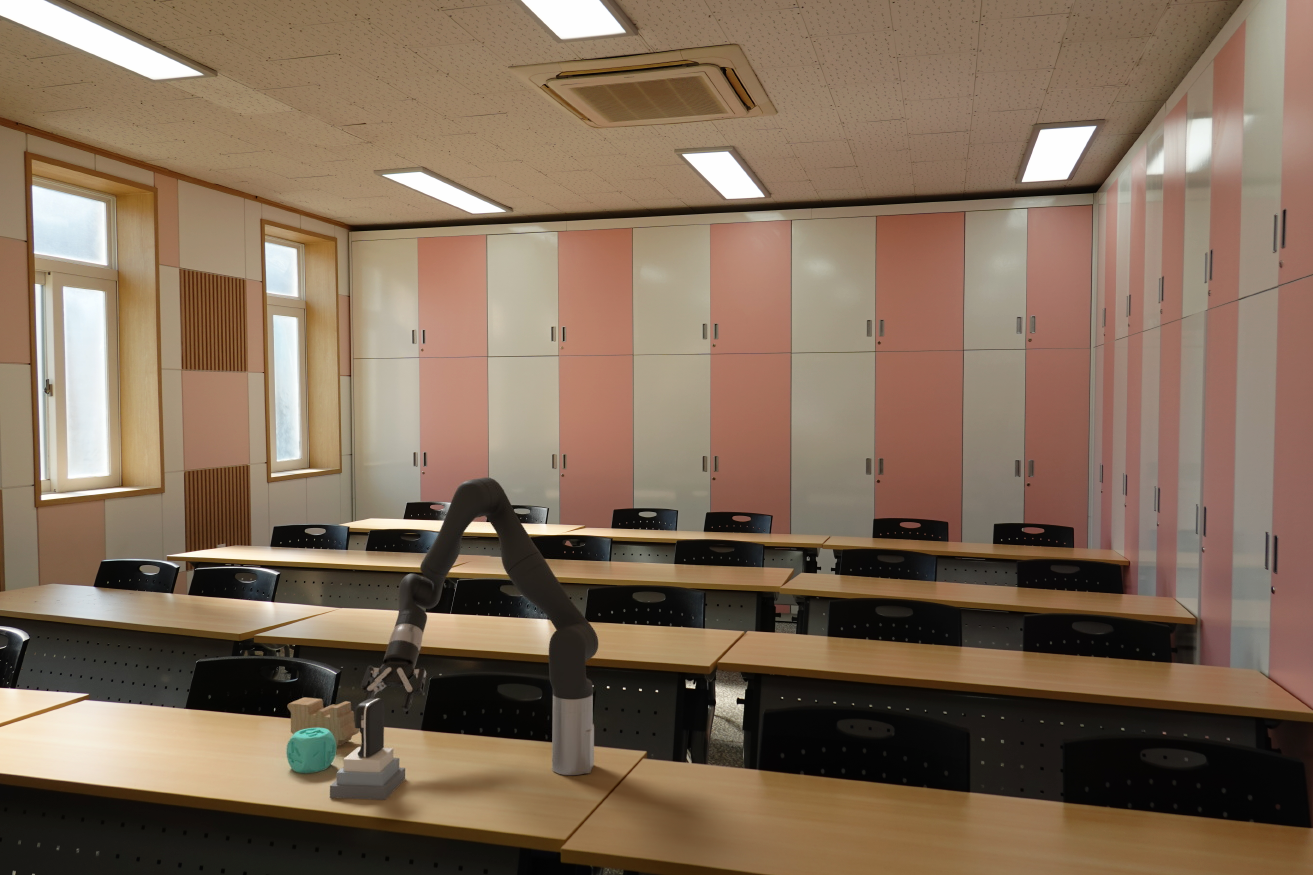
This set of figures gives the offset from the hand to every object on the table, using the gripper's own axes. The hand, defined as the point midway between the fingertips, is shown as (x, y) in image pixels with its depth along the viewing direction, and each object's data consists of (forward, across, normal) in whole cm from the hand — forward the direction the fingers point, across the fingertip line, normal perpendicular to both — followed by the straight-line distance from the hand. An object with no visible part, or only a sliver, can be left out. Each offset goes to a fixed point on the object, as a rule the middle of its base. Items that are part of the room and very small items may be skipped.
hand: (385, 708), depth 209 cm
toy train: (-2, -23, +23) cm, 33 cm away
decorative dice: (+10, -18, +11) cm, 23 cm away
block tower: (+17, 0, +3) cm, 17 cm away
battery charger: (+12, 0, -2) cm, 12 cm away
